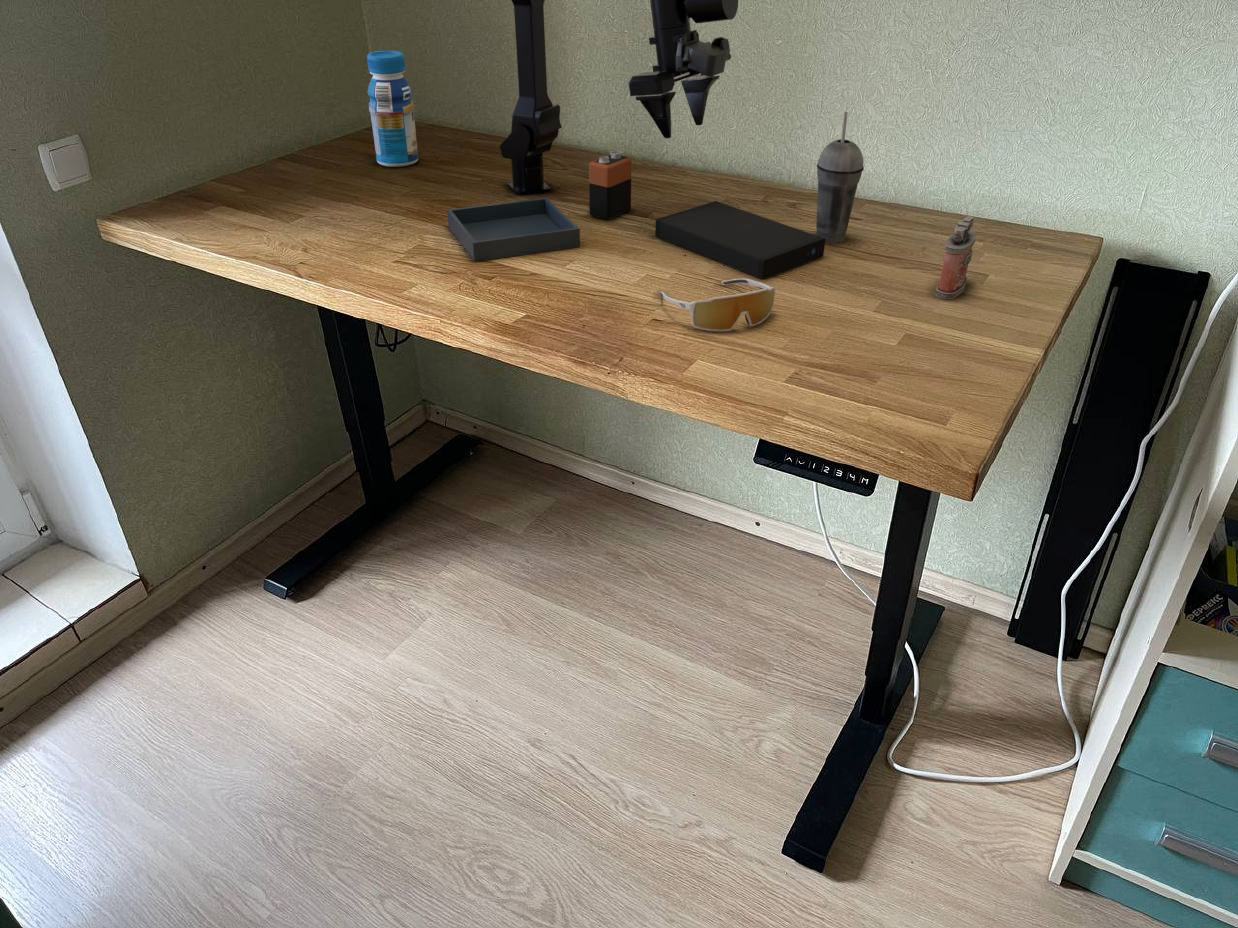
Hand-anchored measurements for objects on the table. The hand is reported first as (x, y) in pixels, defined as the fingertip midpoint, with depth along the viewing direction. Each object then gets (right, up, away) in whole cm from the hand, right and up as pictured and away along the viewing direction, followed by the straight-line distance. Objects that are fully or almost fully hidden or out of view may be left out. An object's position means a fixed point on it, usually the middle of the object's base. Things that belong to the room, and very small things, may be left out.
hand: (683, 131), depth 154 cm
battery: (-12, -11, +10) cm, 19 cm away
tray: (-28, -17, 0) cm, 32 cm away
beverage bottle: (-54, +6, +34) cm, 64 cm away
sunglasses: (+3, -33, -22) cm, 40 cm away
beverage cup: (+24, -17, +1) cm, 29 cm away
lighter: (+38, -29, -16) cm, 50 cm away
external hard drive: (+8, -19, -3) cm, 21 cm away
